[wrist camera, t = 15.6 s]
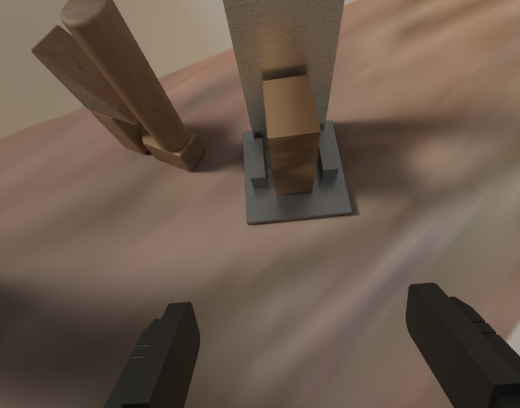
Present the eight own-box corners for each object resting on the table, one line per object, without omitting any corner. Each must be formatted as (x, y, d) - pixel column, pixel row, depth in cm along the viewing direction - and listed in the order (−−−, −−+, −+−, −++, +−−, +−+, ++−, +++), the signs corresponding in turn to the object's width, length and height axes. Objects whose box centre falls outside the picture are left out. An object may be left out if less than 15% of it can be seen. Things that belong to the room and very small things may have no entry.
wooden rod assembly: (140, 127, 37) (15, -28, 20) (206, 150, 34) (123, -9, 18) (124, 148, 36) (-21, 2, 19) (191, 173, 33) (88, 27, 16)
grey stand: (248, 224, 29) (157, 39, 10) (243, 129, 34) (178, -114, 15) (350, 214, 28) (471, -13, 9) (329, 117, 34) (377, -156, 14)
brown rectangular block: (276, 194, 29) (267, 138, 20) (271, 149, 32) (262, 81, 23) (312, 191, 29) (320, 131, 20) (305, 145, 31) (309, 74, 22)
